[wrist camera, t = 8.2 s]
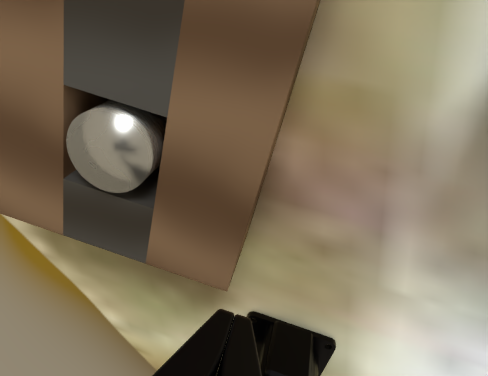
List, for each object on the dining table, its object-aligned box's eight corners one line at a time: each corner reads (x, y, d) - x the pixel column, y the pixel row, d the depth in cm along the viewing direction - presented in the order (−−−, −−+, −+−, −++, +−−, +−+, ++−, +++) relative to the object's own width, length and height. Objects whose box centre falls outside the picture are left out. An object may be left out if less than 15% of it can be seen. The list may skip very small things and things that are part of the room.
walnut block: (246, 237, 24) (227, 291, 20) (46, 171, 25) (-14, 208, 21) (422, -328, 12) (471, -500, 8) (32, -416, 13) (-114, -614, 9)
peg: (180, 162, 22) (143, 203, 18) (117, 141, 22) (66, 177, 18) (192, 97, 20) (153, 126, 16) (122, 75, 20) (66, 98, 16)
